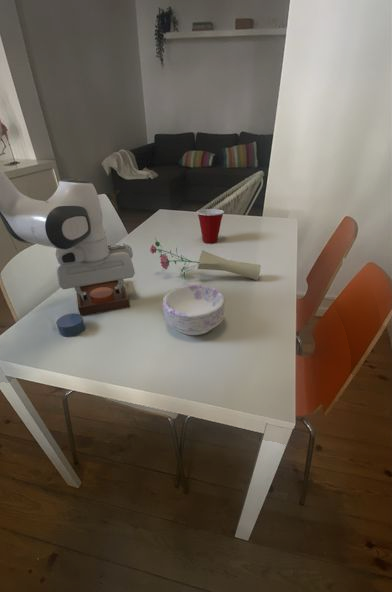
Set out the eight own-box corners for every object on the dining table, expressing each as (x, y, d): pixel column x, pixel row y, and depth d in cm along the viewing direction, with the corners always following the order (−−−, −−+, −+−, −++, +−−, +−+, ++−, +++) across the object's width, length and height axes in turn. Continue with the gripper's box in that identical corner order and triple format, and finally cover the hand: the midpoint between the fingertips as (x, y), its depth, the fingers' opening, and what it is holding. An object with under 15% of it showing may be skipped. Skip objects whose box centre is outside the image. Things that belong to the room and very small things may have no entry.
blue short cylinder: (59, 339, 78) (55, 329, 76) (59, 325, 83) (56, 316, 81) (86, 334, 80) (83, 324, 78) (84, 321, 85) (81, 311, 83)
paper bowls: (153, 334, 79) (150, 306, 74) (181, 305, 90) (179, 280, 85) (210, 349, 74) (210, 320, 69) (231, 316, 85) (233, 290, 80)
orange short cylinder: (91, 298, 93) (88, 289, 91) (113, 294, 95) (111, 285, 93) (93, 309, 88) (91, 299, 86) (116, 304, 90) (114, 295, 88)
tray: (129, 307, 90) (128, 299, 88) (80, 316, 87) (77, 307, 85) (120, 281, 103) (119, 273, 101) (77, 288, 100) (75, 280, 98)
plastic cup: (223, 236, 135) (224, 206, 127) (222, 246, 126) (223, 214, 119) (198, 236, 136) (197, 206, 128) (195, 245, 127) (195, 214, 120)
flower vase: (249, 304, 105) (144, 282, 101) (249, 278, 111) (151, 257, 108) (261, 278, 95) (145, 253, 92) (261, 251, 102) (153, 227, 99)
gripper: (128, 239, 87) (135, 284, 96) (49, 250, 81) (64, 297, 90) (133, 246, 82) (140, 294, 91) (50, 258, 77) (65, 308, 85)
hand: (101, 296), depth 90 cm, fingers open, 8 cm apart
